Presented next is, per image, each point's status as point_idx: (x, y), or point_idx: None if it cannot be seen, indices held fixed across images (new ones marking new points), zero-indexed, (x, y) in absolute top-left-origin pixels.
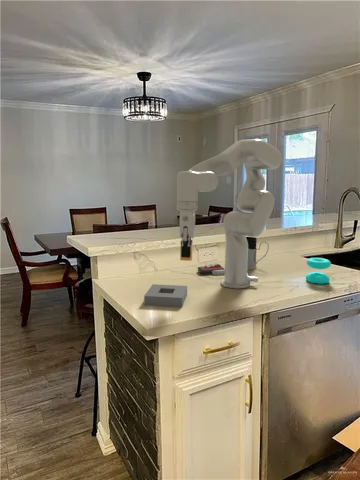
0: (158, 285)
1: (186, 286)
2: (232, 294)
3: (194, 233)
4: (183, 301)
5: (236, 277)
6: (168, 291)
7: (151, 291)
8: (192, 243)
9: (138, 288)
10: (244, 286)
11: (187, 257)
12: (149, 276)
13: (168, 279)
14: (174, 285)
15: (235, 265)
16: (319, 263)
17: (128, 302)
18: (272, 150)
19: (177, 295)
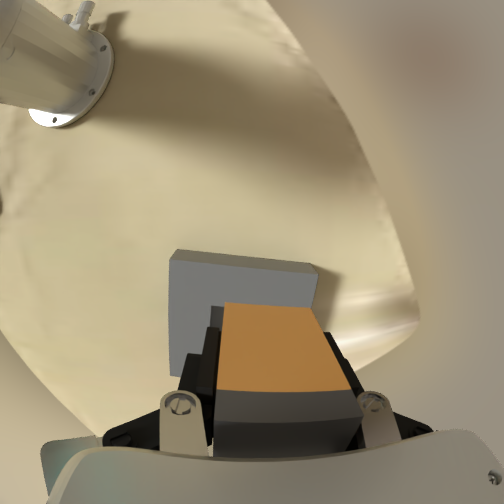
0: (180, 359)
1: (176, 262)
2: (171, 78)
3: (330, 498)
4: (282, 263)
5: (83, 58)
6: (210, 322)
7: None
8: (225, 387)
9: (146, 390)
10: (108, 42)
11: None
12: (45, 360)
13: (47, 311)
14: (170, 308)
15: (55, 46)
16: None
17: None
18: None
19: (291, 292)
